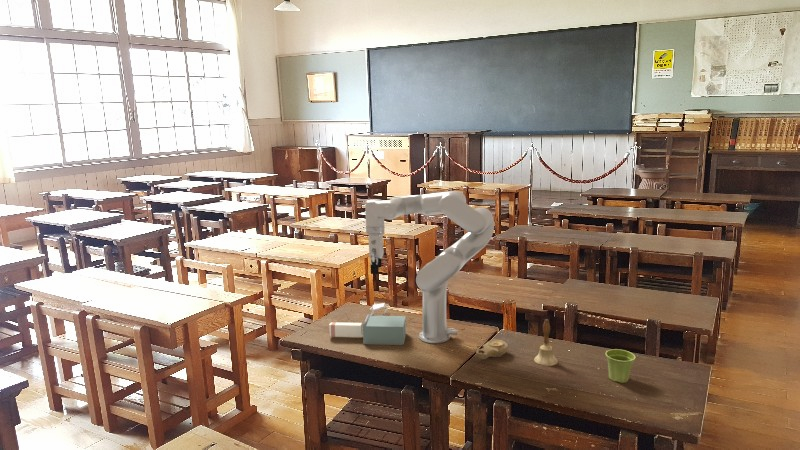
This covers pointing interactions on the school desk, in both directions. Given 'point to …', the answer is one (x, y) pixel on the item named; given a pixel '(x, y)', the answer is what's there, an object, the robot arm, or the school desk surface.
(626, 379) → the plant pot
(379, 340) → the block
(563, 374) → the school desk surface
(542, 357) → the hand bell
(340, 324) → the pink-banded cream bar
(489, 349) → the oil lamp
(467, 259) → the robot arm
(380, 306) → the white scroll-footed stand
